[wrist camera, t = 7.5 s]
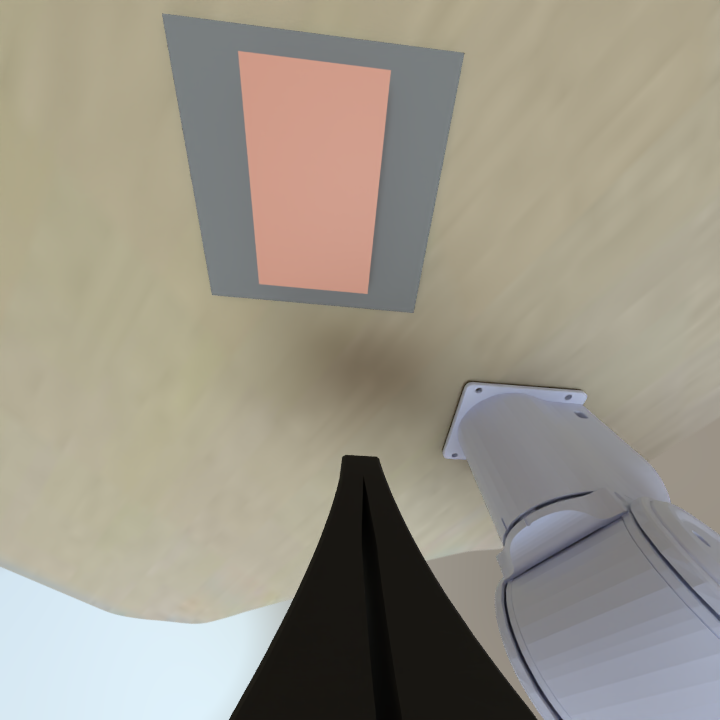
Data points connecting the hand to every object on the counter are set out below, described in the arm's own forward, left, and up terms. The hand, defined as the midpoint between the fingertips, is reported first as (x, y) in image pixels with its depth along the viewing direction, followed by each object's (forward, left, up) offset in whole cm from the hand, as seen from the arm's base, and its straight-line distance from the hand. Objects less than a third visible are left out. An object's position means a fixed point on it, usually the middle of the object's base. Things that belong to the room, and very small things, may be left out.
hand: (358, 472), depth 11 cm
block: (0, -9, -9) cm, 13 cm away
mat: (+3, -9, -10) cm, 14 cm away
